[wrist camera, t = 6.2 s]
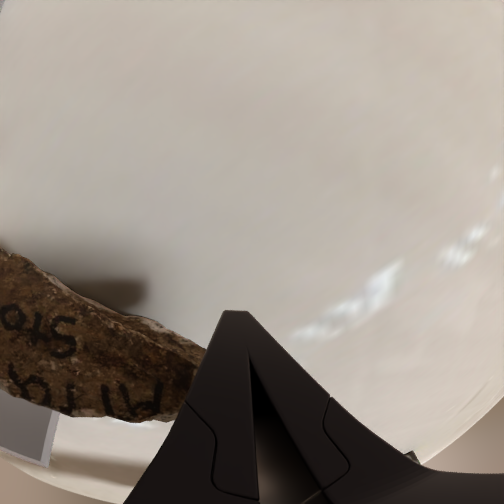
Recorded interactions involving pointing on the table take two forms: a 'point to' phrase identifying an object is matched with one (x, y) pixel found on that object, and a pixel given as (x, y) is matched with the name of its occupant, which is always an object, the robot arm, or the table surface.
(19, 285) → the rock sample
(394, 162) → the table surface
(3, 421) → the box
